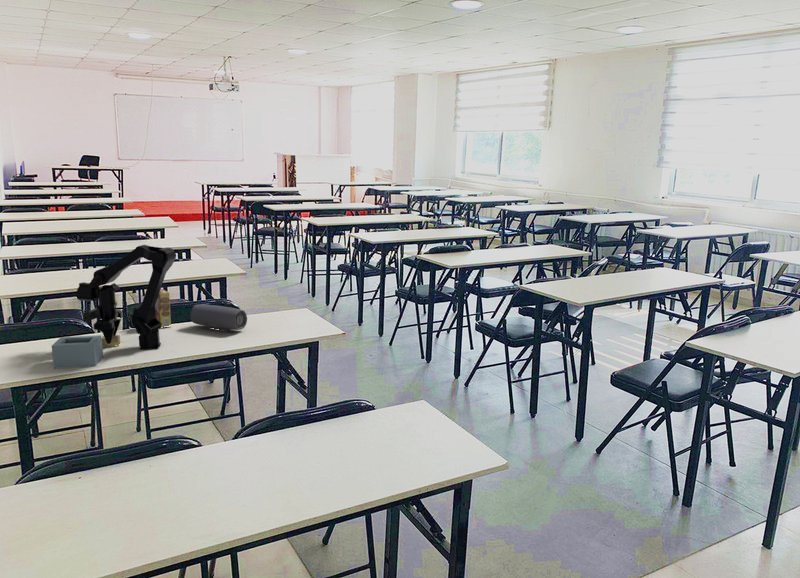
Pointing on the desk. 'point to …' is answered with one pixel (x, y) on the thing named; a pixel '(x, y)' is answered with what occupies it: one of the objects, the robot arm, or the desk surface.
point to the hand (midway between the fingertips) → (110, 341)
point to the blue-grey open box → (77, 351)
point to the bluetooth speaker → (218, 317)
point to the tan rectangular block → (114, 341)
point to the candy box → (163, 308)
